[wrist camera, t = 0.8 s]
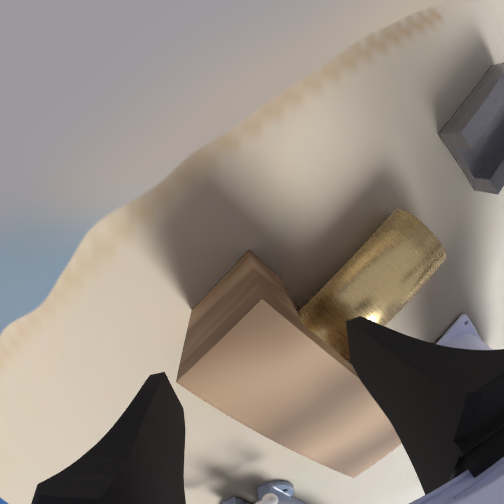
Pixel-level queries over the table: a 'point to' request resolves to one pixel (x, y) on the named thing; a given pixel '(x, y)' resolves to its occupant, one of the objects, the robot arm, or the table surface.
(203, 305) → the wooden bridge block
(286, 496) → the vise
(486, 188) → the v block
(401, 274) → the brass cylinder
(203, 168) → the table surface
